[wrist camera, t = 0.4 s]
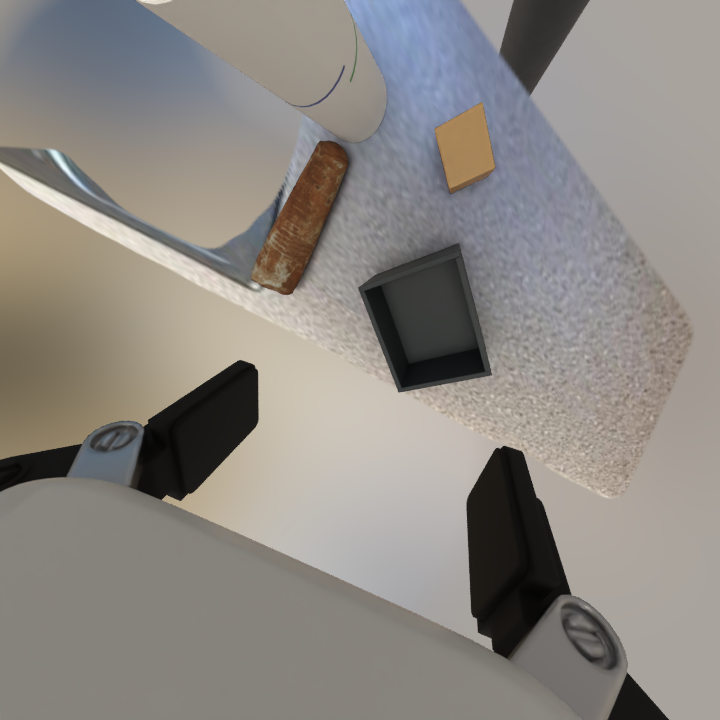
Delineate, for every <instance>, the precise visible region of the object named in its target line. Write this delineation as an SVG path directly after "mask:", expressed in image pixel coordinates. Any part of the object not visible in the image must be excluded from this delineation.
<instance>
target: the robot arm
mask: <svg viewBox="0 0 720 720" xmlns="http://www.w3.org/2000/svg"><path fill="white" fill-rule="evenodd" d="M258 419H259V418H258V370H257V369H255V366H254V365H253V364H251V363H248V362H245V361H242V360H239V361H237V362H235V363H234V364H232V365H231V366H229V367H228V368H226V369H225V370H223V371H222V372H220V373H219V374H217V375H216V376H214V377H213V378H211V379H210V380H208V381H206V382H205V383H203V384H202V385H200V386H199V387H197V388H196V389H195V390H193V391H191V392H190V393H188V394H187V395H185V396H184V397H182V398H181V399H179V400H178V401H176V402H175V403H173V404H172V405H170V406H169V407H167V408H166V409H164V410H163V411H161V412H159V413H158V414H157V415H155V416H153V417H152V418H150V419H149V420H148V424H147V425H145V426H144V427H143V426H142V425H141V424H139V423H137V422H134V421H119V422H114V423H110V424H107V425H105V426H102V427H101V428H98V429H96V430H95V431H93V432H92V433H91V434H90V435H88V437H87V438H86V439H85V440H84V442H83V444H79V445H73V446H68V447H63V448H57V449H52V450H46V451H41V452H36V453H30V454H25V455H19V456H14V457H9V458H6V459H2V460H0V720H669V719H668V718H667V717H666V716H665V715H664V714H663V712H662V711H661V710H660V709H659V708H658V707H657V706H656V704H655V703H654V702H653V701H652V700H651V699H650V698H649V697H648V695H647V694H646V693H645V692H644V691H643V690H642V689H641V687H640V686H639V685H638V684H637V683H636V682H635V681H634V680H633V678H632V677H631V676H630V675H629V674H628V673H627V667H628V663H627V658H626V653H625V650H624V648H623V646H622V643H621V642H620V639H619V637H618V636H617V634H616V633H615V631H614V630H613V628H612V627H611V625H610V624H609V623H608V622H607V620H606V619H605V618H604V617H603V616H602V615H601V614H600V613H599V612H598V611H597V610H596V609H595V608H594V607H592V606H591V605H590V604H589V603H587V602H585V601H584V600H582V599H580V598H579V597H576V596H572V595H571V592H570V589H569V585H568V582H567V579H566V576H565V573H564V569H563V566H562V563H561V560H560V557H559V554H558V550H557V547H556V544H555V541H554V538H553V534H552V531H551V528H550V525H549V521H548V518H547V515H546V512H545V509H544V506H543V504H542V502H541V501H540V500H539V499H538V498H536V494H535V491H534V488H533V484H532V481H531V477H530V474H529V470H528V467H527V464H526V460H525V457H524V454H523V452H522V451H519V450H516V449H513V448H510V447H507V446H503V447H502V448H501V449H499V448H496V449H495V450H494V452H493V454H492V456H491V457H490V459H489V461H488V462H487V464H486V466H485V468H484V469H483V471H482V473H481V475H480V476H479V478H478V480H477V482H476V484H475V485H474V487H473V489H472V491H471V493H470V494H469V496H468V499H467V526H468V527H467V528H468V549H469V573H470V594H471V612H472V615H473V617H475V618H477V624H478V633H480V634H482V635H485V636H487V637H489V638H491V639H492V647H493V650H494V652H493V651H491V650H489V649H488V648H485V647H484V646H482V645H480V644H478V643H476V642H474V641H473V640H471V639H469V638H466V637H464V636H462V635H460V634H458V633H456V632H454V631H452V630H450V629H447V628H445V627H443V626H441V625H439V624H437V623H435V622H432V621H430V620H429V619H426V618H424V617H422V616H420V615H418V614H416V613H414V612H412V611H409V610H407V609H405V608H403V607H401V606H398V605H396V604H394V603H391V602H389V601H387V600H385V599H383V598H380V597H378V596H376V595H374V594H372V593H370V592H367V591H365V590H363V589H361V588H359V587H356V586H354V585H352V584H350V583H348V582H345V581H343V580H340V579H339V578H337V577H334V576H332V575H330V574H328V573H325V572H323V571H321V570H319V569H316V568H314V567H312V566H309V565H307V564H305V563H303V562H301V561H299V560H296V559H294V558H292V557H290V556H287V555H285V554H283V553H280V552H278V551H276V550H274V549H271V548H269V547H267V546H265V545H263V544H260V543H258V542H256V541H253V540H252V539H249V538H247V537H245V536H243V535H240V534H238V533H236V532H233V531H231V530H229V529H227V528H224V527H222V526H220V525H218V524H215V523H213V522H210V521H208V520H206V519H204V518H202V517H199V516H197V515H195V514H192V513H190V512H188V511H186V510H183V509H181V508H179V507H176V506H174V505H172V504H169V503H167V502H164V501H162V499H163V498H164V497H165V496H166V495H168V496H170V497H173V498H175V499H177V500H179V501H181V500H182V499H183V498H184V497H185V496H186V495H187V494H188V493H189V494H190V493H193V492H194V491H195V490H196V489H197V488H198V487H199V486H200V485H201V484H202V483H203V482H204V481H205V480H206V479H207V477H209V476H210V475H211V473H213V471H214V470H215V469H216V468H217V467H218V466H219V465H220V464H221V463H222V462H223V461H224V460H225V459H226V458H227V457H228V456H229V455H230V453H232V451H233V450H234V449H235V448H236V447H237V446H238V445H239V444H240V443H241V442H242V441H243V440H244V439H245V438H246V437H247V435H249V434H250V432H251V431H252V430H253V429H254V428H255V427H256V425H257V423H258Z"/></svg>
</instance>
